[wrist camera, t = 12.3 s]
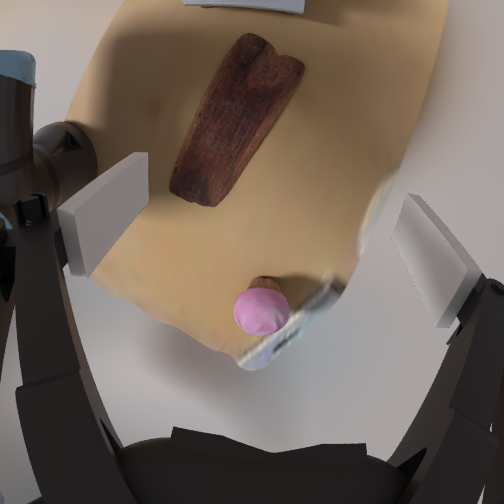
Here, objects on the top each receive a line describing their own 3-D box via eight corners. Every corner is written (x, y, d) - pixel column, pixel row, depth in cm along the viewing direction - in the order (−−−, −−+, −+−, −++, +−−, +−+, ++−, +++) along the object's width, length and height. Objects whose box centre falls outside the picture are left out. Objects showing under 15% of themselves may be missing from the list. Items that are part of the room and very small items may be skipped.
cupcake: (237, 301, 57) (230, 342, 49) (239, 263, 52) (231, 303, 44) (285, 306, 57) (284, 348, 48) (292, 268, 52) (294, 310, 44)
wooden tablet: (215, 219, 47) (155, 192, 44) (216, 212, 49) (159, 186, 46) (311, 66, 34) (243, 28, 31) (308, 65, 36) (243, 29, 33)
